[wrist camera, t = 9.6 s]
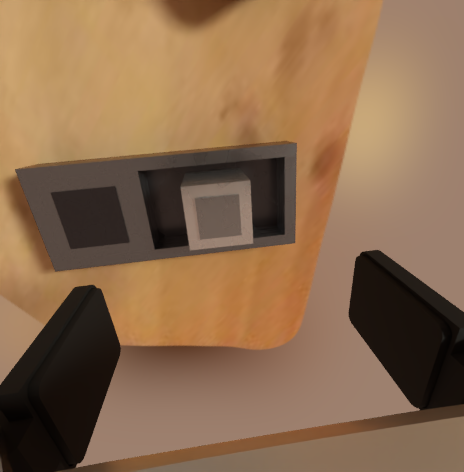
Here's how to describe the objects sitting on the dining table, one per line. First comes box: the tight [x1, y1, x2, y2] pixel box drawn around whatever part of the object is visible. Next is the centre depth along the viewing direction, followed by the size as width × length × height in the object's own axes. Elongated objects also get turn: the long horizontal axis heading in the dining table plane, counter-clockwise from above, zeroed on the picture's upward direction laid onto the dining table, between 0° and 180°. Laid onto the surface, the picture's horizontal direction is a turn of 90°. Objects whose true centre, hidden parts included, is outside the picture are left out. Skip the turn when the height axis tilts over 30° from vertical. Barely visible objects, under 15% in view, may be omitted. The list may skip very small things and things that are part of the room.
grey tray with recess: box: [15, 141, 297, 271], centre depth 24 cm, size 9×22×3 cm, turn 95°
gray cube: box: [181, 168, 253, 250], centre depth 22 cm, size 5×5×6 cm
